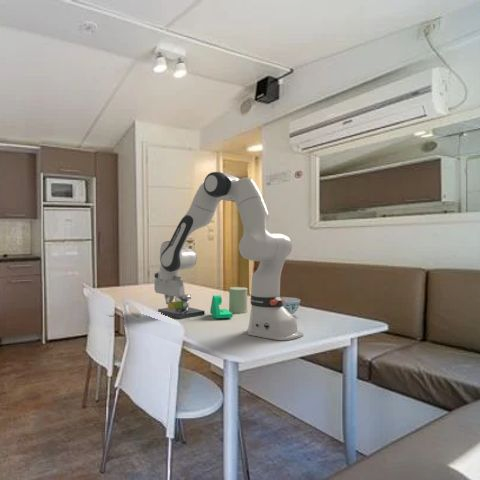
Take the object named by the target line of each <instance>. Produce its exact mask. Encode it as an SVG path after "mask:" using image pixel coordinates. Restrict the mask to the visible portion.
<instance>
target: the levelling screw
mask: <svg viewBox="0 0 480 480" xmlns="http://www.w3.org/2000/svg"><path fill="white" fill-rule="evenodd" d="M179 299H181V301H176V302H175V301H173V302H168V304H167V308H168V309H169V310H171V309H178V308H181V311H188V310H189V307H190V300H191V299H192V295H191V294H186V293H185V294H184V296H183V297H179Z"/></svg>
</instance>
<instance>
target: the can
mask: <svg viewBox="0 0 480 480" xmlns="http://www.w3.org/2000/svg"><path fill="white" fill-rule="evenodd" d="M228 290H229V291H228V293H229V298H228V299H229V301H228V302H229V303H228V306H229V307H228V311H230V312H231V313H233V314H245V313H248V288H247V287H243V286H236V287H235V286H233V287H229V288H228Z"/></svg>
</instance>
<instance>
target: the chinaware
mask: <svg viewBox="0 0 480 480" xmlns="http://www.w3.org/2000/svg"><path fill="white" fill-rule="evenodd" d="M281 298H282V299H285V300H283V301H285V302H283V306H284V307H285V309H286V310H287V311H288V312H289V313H290V314H291V315H293V314H295V312H297V311H298V309H299V307H300V304H301V299H299V298H297V297H290V296H289V297H288V296H287V297H286V296H281Z"/></svg>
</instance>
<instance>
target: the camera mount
mask: <svg viewBox="0 0 480 480" xmlns="http://www.w3.org/2000/svg"><path fill="white" fill-rule="evenodd" d="M222 302H223V300H222V296H221V295H220V294H219V295H212V299H211V303H210V309H209V311H210V312H209V313H210V314H211V315H212V316H211V317H212V318H213V319H215V320H216V319H231V318H233V315H234V313H231V312H230V311H229V309H227V308H226V309H225V308H222V309H220V306H222Z"/></svg>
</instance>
